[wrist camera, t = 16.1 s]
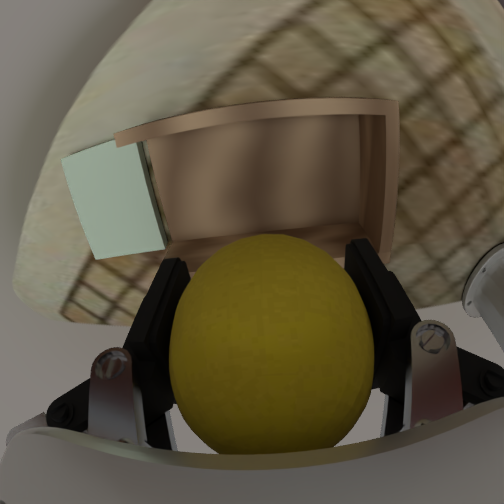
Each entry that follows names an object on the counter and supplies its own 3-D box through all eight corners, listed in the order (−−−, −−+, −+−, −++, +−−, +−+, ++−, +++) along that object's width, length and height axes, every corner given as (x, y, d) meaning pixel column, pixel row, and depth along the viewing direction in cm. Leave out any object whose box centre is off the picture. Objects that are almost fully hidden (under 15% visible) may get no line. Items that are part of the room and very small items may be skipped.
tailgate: (134, 133, 19) (60, 159, 20) (165, 249, 25) (95, 259, 25) (140, 131, 21) (68, 155, 21) (168, 241, 26) (101, 252, 26)
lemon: (256, 329, 13) (255, 498, 6) (169, 253, 11) (93, 450, 4) (359, 269, 11) (429, 452, 4) (281, 163, 9) (350, 398, 2)
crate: (365, 97, 19) (398, 100, 13) (365, 227, 25) (389, 263, 20) (146, 122, 20) (113, 133, 15) (177, 246, 26) (159, 285, 21)
